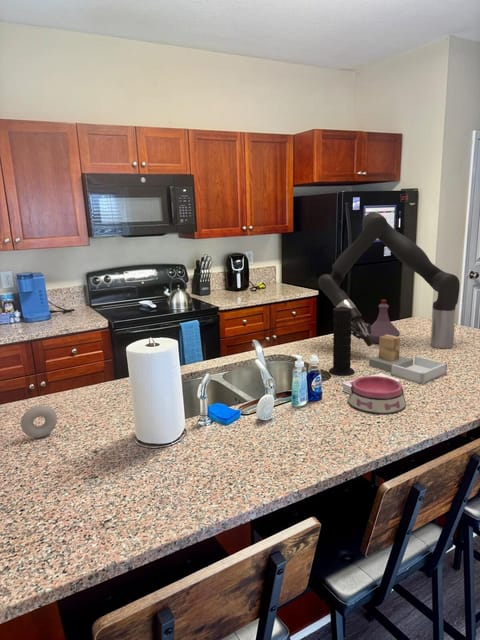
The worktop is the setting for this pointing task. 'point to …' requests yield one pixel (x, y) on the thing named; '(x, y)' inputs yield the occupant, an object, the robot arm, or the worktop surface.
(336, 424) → the worktop surface
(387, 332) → the flask
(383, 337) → the oak block
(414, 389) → the worktop surface
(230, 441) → the worktop surface
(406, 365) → the grey square slab
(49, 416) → the donut
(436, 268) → the robot arm
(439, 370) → the tray
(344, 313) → the handle grip
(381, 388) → the dog bowl
